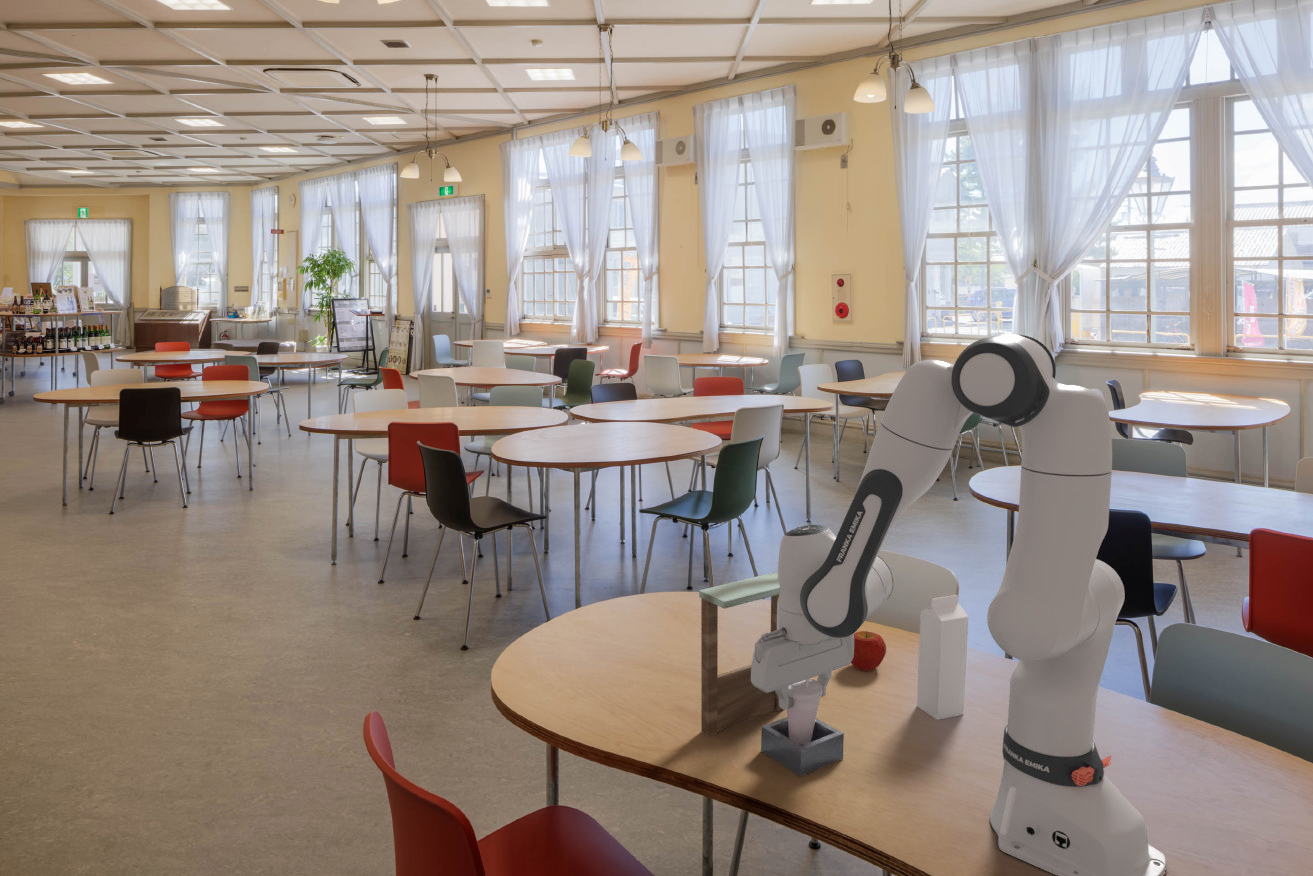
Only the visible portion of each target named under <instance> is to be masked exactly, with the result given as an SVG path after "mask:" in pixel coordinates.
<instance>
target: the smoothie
mask: <svg viewBox="0 0 1313 876" xmlns="http://www.w3.org/2000/svg"><path fill="white" fill-rule="evenodd" d="M786 693H787V696H788V697H791V698H793V703H792V704H793V707H792V708H790V709H787V710H786V713H787V714H786V715H787V717H788V729H789V739H791V740H792V741H794V742H796V743H797V744H799V745H801V746H802V745H805V744H808V743H810V742H811V739H812V734H813V729H814V724H815V719H816V718H817V713H818V710H819V704H820V699H821V698H822V697H821V696H822V694H823V687H822V685H821V684H820V683H819V682H817V680H815V679H813V678H809V679H806V680H803V681H801V682H798V683H795V684H792V685H789V689H788V691H786Z"/></svg>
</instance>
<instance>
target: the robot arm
mask: <svg viewBox="0 0 1313 876" xmlns="http://www.w3.org/2000/svg"><path fill="white" fill-rule="evenodd" d="M1056 370H1057V369H1056V363H1055V358H1054V356H1053V355H1052V353H1051V351H1050V350H1049V348H1048V347H1047V346H1045V344H1043V343H1042V342H1041V341H1039V340H1038V339H1036V338H1035V337H1031V336H1028V335H1023V334H1015V333H1014V334H1013V333H999V334H994V335H989V336H988V337H984V338H981V339H978V340H976V341H974V342H972V343H970V344H969V345H967V347H965V348H964V349H963V350H962V351H961V353H960V354H959V355H958V357H957V358H956V360H955V362H954V364H953V363H950V362H946V361H943V360H939V359H938V360H937V359H925V360H920V361H917V362H915V363H913V364H912V365H910V366H909V367H908V368H907V370H906V371H905V372H904V374H903V376H902V377H901V379H900V380H899V382H898V384H897V386H896V387H895V389H894V391H893V392H892V395H891V397H890V398H889V401H888V403H887V405H886V407H885V410H884V412H883V414H882V417H881V420H880V422H879V425H878V428H877V429H876V432H875V435H874V438H873V441H872V445H871V448H870V451H869V453H868V457H867V460H866V464H865V466H864V468H863V472H862V474H861V477H860V480H859V483H858V486H857V488H856V492H855V495H854V496H853V499H852V501H851V503H850V505H849V507H848V510H847V512H846V515H845V517H844V518H843V522H842V524H841V525H840V528H839V530H838V533H837V535H835V533H833V531H832V530H831V529H830V528H829V527H827V526H824V525H819V524H810V525H809V524H808V525H802V526H797V527H794V528H793V529H791V530H789V531H788V532H785V534H784V535H783V536H782V538H781V542H780V545H779V552H778V561H777V562H778V563H777V564H778V565H777V572H778V582H779V586H780V594H779V598H778V602H777V630H775V631H773V632H771V631H770V632H766V633H763V634H761V636H760V638H759V639H758V640H757V642H755V644H754V650H753V654H752V660H751V665H752V667H751V682H752V684H753V685H754V686H755V687H756V688H758V689H760V690H761V691H763V692H766V693H768V692H771V691H774V690H775V692H776V693H777V695H778V697H779V706H780V708H782V709H783V710H784V711H787V709H790V708H792V707H793V704H792V703H793V698H791V697H788V696H787V693H786V691H788V689H789V685H792V684H795V683H798V682H801V681H803V680H806V679H809V678H810V679H813V678H815V677H817V679H816V681H817V682H819V683H820V684H821V685H822V687H823V694H822V696H821V697H820V698H822V697H825V696H826V694H827V693H826V690H827V686H828V684H829V682H830V681H831V678H832V673H833V672H832V671H835V670H839V669H841V668H844V667H847V666H850V664H851V661H852V659H853V656H854V633H856V632H858V630H859V628H861V626H863V624H864V623H865V621H867V620H868V618H870V617H871V616H872V615H873V614H874V613H875V612H876V611H877V610H878V609H880V607H881V606H883V605H884V604H885V603H886V602H887V601H888V600H889V599H890V597H891V595H892V593H893V588H894V577H893V574H892V570H891V569H890V567H889V566H888V564H887V562H885V561H884V559H883V558H881V557H880V556H879V553H880V550H881V549H882V547H883V544H884V542H885V540H886V537H887V535H888V533H889V532H890V530H891V528H892V526H894V524H895V523H896V521H897V520H898V519H899V517H901V515H902V514H903V513H904V512H905V511H907V509H908V508H909V507H910V506H912V505H913V504H914V503H915V502H916V501H917V500H918V499H919V498H921V497H922V496H923V495H925V494H926V493H927V492H928V491H929V490H930V489H931V488H932V487H933V485H934V484H935V482H936V481H937V480H938V478H939V476H940V475H941V473H942V472H943V470H944V469H945V467H946V465H947V464H948V461H949V459H950V457H951V455H952V453H953V451H954V448H955V445H956V443H957V441H958V438H959V436H960V433H961V431H962V429H963V427H964V425H965V423H966V422H967V420H968V419H969V418H970V417H971V416H972V415H973V414H975V415H978V416H980V417H982V418H985V419H989V420H991V421H994V422H998V423H1001V424H1002V425H1006V426H1007V427H1008V426H1009V427H1011V428H1019V430H1020V435H1021V442H1022V445H1021V447H1022V449H1021V463H1020V464H1021V465H1020V484H1019V502H1018V515H1017V521H1016V528H1015V533H1014V536H1013V541H1012V544H1011V549H1010V552H1009V556H1008V558H1007V563H1006V567H1005V570H1004V573H1003V577H1002V579H1001V582H1000V586H999V588H998V590H997V592H996V594H995V596H994V597H993V599H992V600H991V602H990V603H989V606H988V609H987V614H986V617H987V618H986V620H987V626H988V629H989V633H990V635H991V637H992V638H993V640H994V642H995V643H996V644H997V646H998V647H999V648H1000V649H1001V650H1002V651H1003V652H1005V653H1006V654H1007V655H1009V656H1011V657H1013V658H1014V659H1018V661H1017V664H1016V666H1015V668H1014V669H1013V671H1012V674H1011V678H1010V681H1009V696H1008V698H1009V699H1008V713H1007V716H1008V717H1007V725H1006V726H1005V727H1004V731H1003V741H1002V757H1003V760H1004V761H1003V762H1004V763H1003V770H1002V773H1001V774H1002V776H1001V780H1000V784H999V789H998V792H997V796H996V799H995V802H994V804H993V807H992V809H991V811H990V813H989V821H990V825H991V827H992V829H993V830H994V831H995V833H996V835H997V837H998V838H997V845H998V848H999V850H1001V852H1004V853H1006V854H1008V855H1010V856H1012V857H1014V858H1017V859H1019V860H1021V861H1023V862H1026V863H1028V864H1030V865H1033V866H1035V867H1037V868H1039V869H1041V870H1043V871H1045V872H1049V873H1050V874H1053V875H1055V876H1057V875H1058V876H1162V875H1163V873H1164V872H1165V868H1166V869H1167V859H1166V856H1165V854H1164V853H1163V852H1162V851H1159V850H1158V849H1157V848H1155V847H1154V846H1152V845H1151V844H1149V836H1148V835H1149V834H1148V829H1147V825H1146V821H1145V819H1144V817H1143V815H1142V814H1141V813H1140V812H1139V811H1138V810H1137V809H1136V808H1135V806H1133V805H1132V804H1131V802H1130V801H1129V800H1128V799H1127V798H1126V797H1125V796H1124V794H1122V792H1121V791H1120V790H1119V789H1118V788H1117V787H1116V786H1115V785H1114V783H1112V781H1111V780H1110V779H1109V778H1108V777H1107V776H1106V775H1105V770H1104V769H1105V768H1107V767H1108V766H1110V765H1111V763H1112V761H1111V759H1112V756H1111V755H1109V756H1106V757H1105V758H1103V759H1101V757H1100V754H1099V752H1098V748H1097V746H1096V744H1095V742H1094V733H1095V722H1096V721H1095V720H1096V709H1097V698H1098V691H1099V687H1100V684H1101V683H1100V682H1101V679H1102V675H1103V671H1104V668H1105V664H1106V662H1107V657H1108V654H1109V649H1110V647H1111V642H1112V638H1113V637H1112V636H1113V633H1114V629H1115V624H1116V621H1117V619H1118V616H1119V615H1120V612H1121V610H1122V607H1123V605H1124V602H1125V586H1124V584H1123V581H1122V580H1121V577H1120V576H1119V574H1118V573H1117V571H1116V570H1115V569H1114V568H1112V567H1111V566H1110V565H1109V564H1107V563H1106V562H1105V561H1102V560H1100V559H1097V557H1098V553H1099V550H1100V547H1101V545H1102V543H1103V540H1104V539H1105V538H1106V537H1105V536H1106V535H1107V532H1108V529H1109V520H1110V519H1109V518H1110V506H1111V505H1110V502H1111V491H1112V490H1111V488H1112V487H1111V485H1112V472H1113V471H1112V470H1113V439H1112V437H1113V436H1112V428H1111V427H1112V426H1111V418H1110V414H1109V408H1108V407H1109V406H1108V404H1107V402H1106V400H1105V398H1103V397H1102V396H1101V395H1100V394H1099V393H1098V392H1096V391H1095V390H1092V389H1090V388H1087V387H1085V386H1081V385H1074V384H1068V385H1067V384H1063V383H1060V382H1058V381H1057V380H1056V374H1057V373H1056V372H1057V371H1056ZM1155 864H1158V865H1160V866H1157V865H1155ZM1165 873H1166V872H1165Z"/></svg>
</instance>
